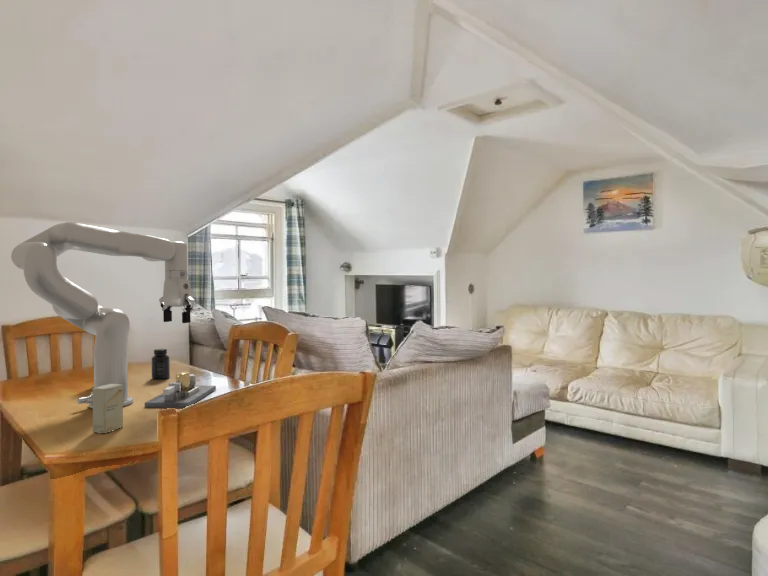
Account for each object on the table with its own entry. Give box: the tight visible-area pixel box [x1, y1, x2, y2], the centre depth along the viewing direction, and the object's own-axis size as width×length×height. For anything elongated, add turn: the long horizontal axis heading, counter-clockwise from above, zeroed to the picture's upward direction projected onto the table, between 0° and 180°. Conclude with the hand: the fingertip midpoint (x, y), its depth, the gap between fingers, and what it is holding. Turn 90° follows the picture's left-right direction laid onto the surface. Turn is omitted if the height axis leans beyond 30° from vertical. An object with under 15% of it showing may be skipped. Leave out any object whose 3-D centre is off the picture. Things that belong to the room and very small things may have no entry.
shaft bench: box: [144, 373, 217, 409], centre depth 164 cm, size 24×14×6 cm, turn 179°
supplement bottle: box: [150, 348, 171, 380], centre depth 195 cm, size 7×7×12 cm
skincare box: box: [92, 384, 124, 434], centre depth 129 cm, size 6×4×12 cm
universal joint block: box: [175, 371, 190, 392], centre depth 164 cm, size 6×4×7 cm
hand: (176, 322), depth 173 cm, fingers open, 9 cm apart
